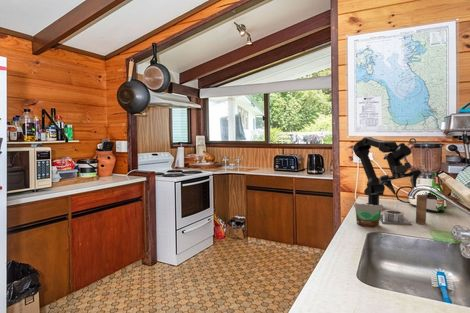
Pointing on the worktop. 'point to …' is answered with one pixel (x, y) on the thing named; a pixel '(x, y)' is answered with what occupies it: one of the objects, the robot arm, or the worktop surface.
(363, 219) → the food container
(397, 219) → the bracket
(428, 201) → the spread jar
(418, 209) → the brown wooden cylinder
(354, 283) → the worktop surface
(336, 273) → the worktop surface
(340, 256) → the worktop surface
